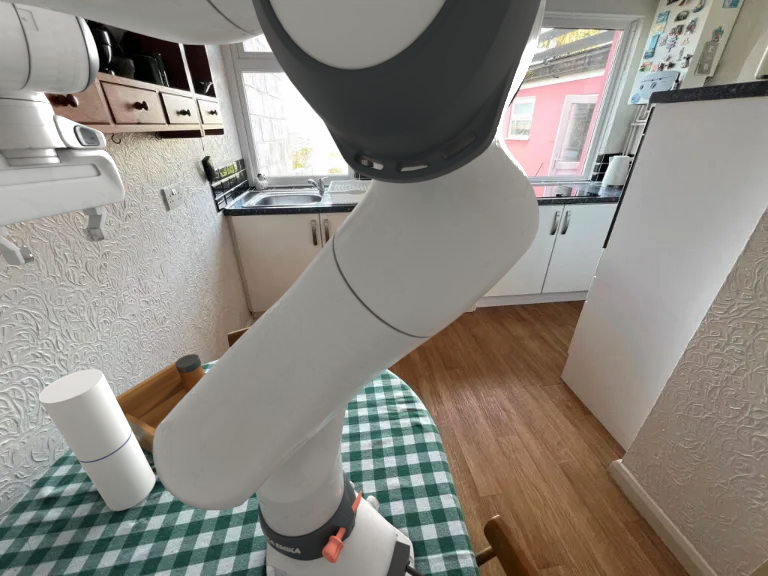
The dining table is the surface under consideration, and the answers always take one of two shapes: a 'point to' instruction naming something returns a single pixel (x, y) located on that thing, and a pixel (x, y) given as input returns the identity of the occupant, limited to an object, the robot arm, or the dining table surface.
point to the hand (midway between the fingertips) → (64, 250)
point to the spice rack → (158, 397)
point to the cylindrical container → (99, 437)
